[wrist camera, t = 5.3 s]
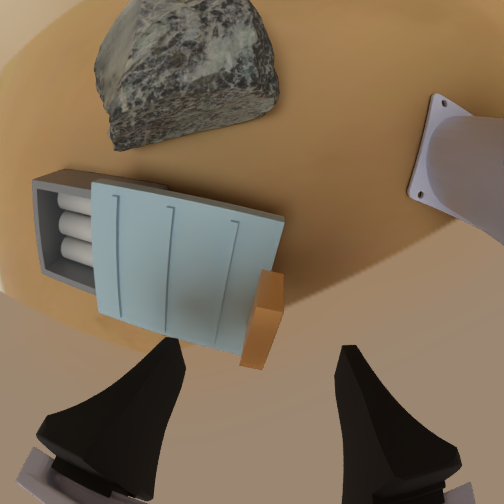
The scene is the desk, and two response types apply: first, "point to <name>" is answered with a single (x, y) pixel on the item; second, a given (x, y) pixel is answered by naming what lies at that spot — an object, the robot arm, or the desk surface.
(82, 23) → the desk surface
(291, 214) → the desk surface
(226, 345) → the lid
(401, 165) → the desk surface
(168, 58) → the stone
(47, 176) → the tub
